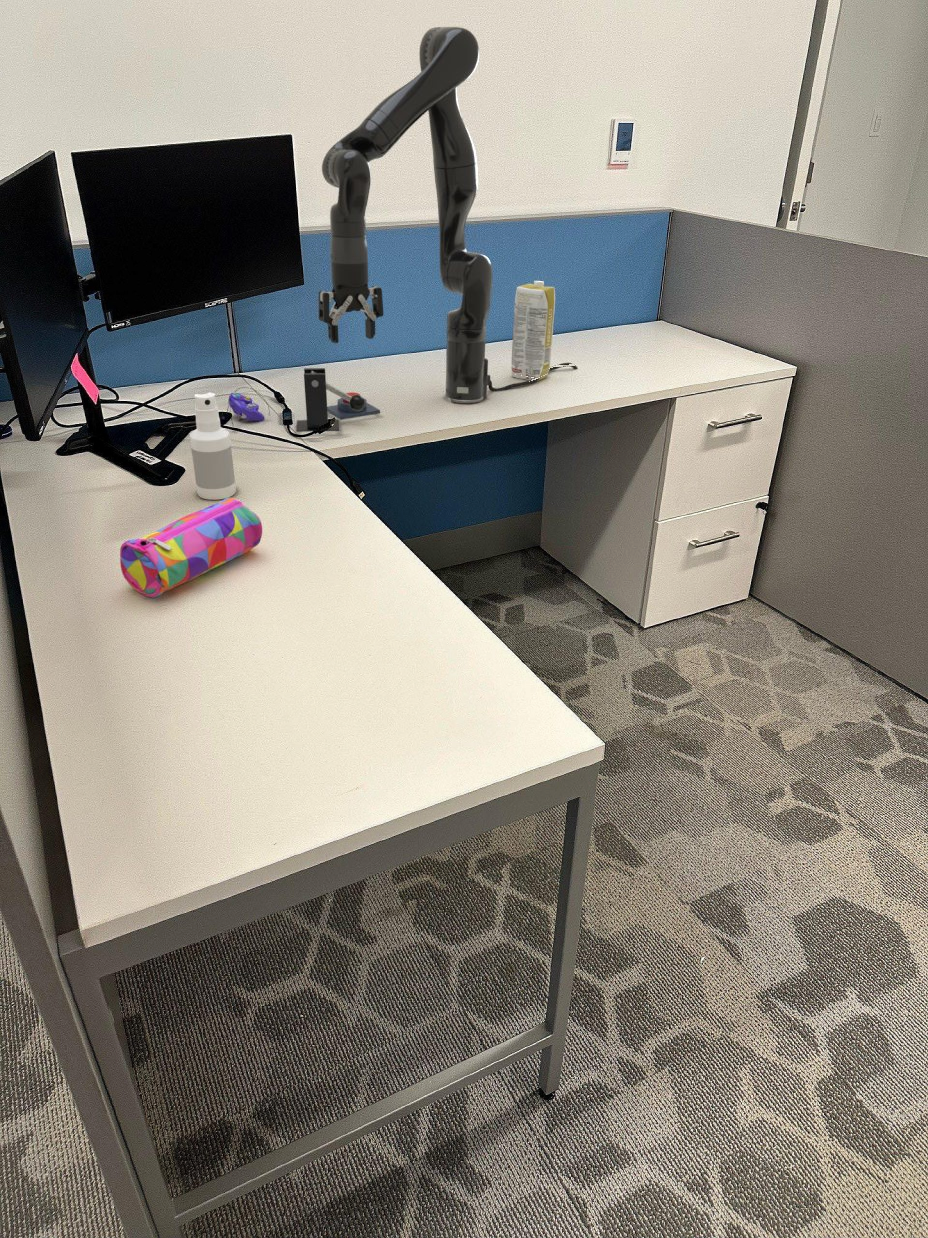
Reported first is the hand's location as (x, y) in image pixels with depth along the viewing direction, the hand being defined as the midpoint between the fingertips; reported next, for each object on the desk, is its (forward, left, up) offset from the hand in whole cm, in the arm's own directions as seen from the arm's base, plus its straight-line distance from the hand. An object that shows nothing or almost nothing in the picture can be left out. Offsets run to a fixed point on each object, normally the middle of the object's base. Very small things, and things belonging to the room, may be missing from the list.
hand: (352, 340), depth 186 cm
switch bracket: (+10, +2, -18) cm, 20 cm away
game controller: (+23, -10, -18) cm, 31 cm away
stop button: (-1, -4, -15) cm, 15 cm away
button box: (-1, -4, -18) cm, 18 cm away
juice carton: (-57, -11, -18) cm, 61 cm away
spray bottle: (+41, +25, -18) cm, 51 cm away
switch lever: (+7, +3, -11) cm, 13 cm away
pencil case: (+54, +53, -18) cm, 78 cm away
